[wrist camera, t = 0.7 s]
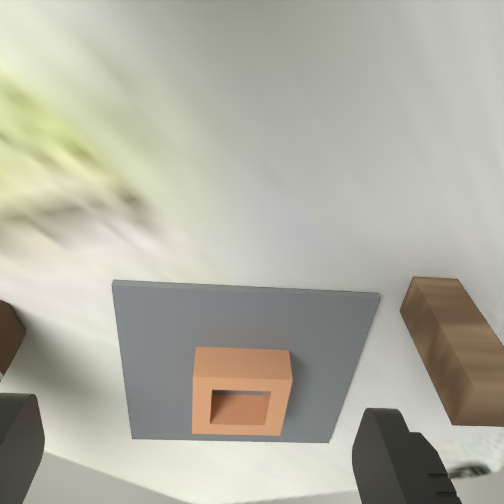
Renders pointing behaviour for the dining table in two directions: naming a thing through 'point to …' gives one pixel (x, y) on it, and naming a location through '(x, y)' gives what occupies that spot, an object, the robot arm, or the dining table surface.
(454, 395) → the walnut peg
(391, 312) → the dining table surface
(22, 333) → the beer bottle
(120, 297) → the socket holder
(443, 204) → the dining table surface
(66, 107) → the dining table surface
